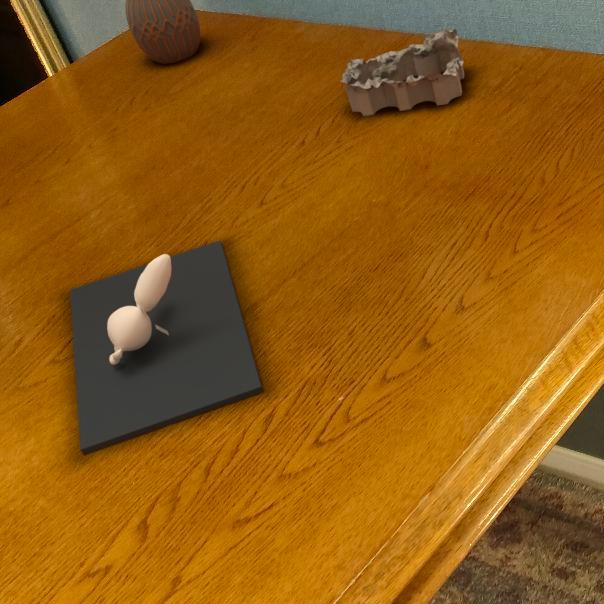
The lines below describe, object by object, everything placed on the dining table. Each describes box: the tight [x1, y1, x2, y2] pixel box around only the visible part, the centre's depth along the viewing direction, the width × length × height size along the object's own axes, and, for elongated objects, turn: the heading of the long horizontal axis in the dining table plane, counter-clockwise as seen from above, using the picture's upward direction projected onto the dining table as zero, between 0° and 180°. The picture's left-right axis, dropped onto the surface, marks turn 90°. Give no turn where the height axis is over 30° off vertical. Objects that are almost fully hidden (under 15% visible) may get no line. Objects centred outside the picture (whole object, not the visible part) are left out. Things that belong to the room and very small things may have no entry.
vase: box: [124, 0, 201, 65], centre depth 103 cm, size 7×7×9 cm
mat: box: [69, 240, 265, 456], centre depth 71 cm, size 20×12×1 cm, turn 20°
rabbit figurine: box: [107, 253, 171, 365], centre depth 69 cm, size 6×4×8 cm
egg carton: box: [339, 28, 465, 117], centre depth 90 cm, size 11×8×4 cm
